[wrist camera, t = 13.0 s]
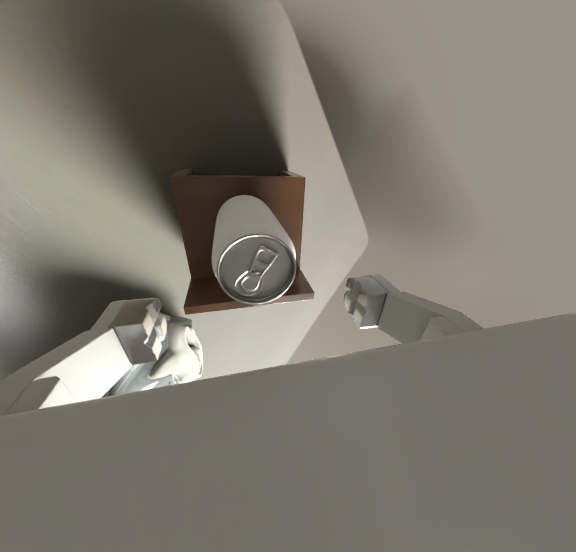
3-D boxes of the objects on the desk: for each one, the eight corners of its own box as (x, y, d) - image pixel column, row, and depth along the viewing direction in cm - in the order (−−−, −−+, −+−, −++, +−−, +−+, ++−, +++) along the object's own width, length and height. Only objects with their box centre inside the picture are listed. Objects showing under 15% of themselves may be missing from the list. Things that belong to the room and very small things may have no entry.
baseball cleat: (73, 466, 37) (173, 460, 43) (84, 342, 26) (217, 358, 32) (102, 406, 46) (182, 408, 52) (120, 293, 34) (219, 313, 41)
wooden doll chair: (288, 170, 32) (326, 185, 20) (286, 252, 38) (313, 299, 26) (182, 169, 29) (152, 185, 17) (199, 258, 35) (185, 314, 23)
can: (207, 235, 25) (194, 293, 15) (231, 182, 23) (234, 209, 13) (257, 257, 28) (275, 318, 18) (282, 211, 26) (318, 252, 16)
